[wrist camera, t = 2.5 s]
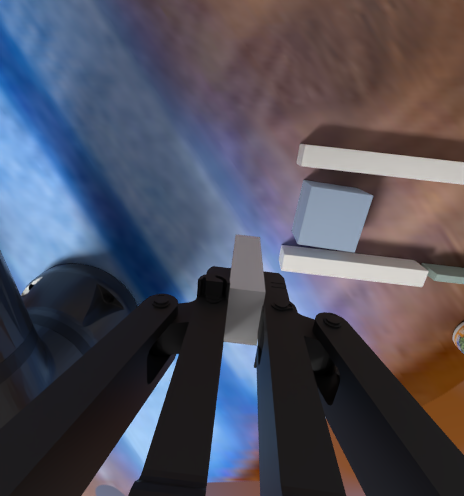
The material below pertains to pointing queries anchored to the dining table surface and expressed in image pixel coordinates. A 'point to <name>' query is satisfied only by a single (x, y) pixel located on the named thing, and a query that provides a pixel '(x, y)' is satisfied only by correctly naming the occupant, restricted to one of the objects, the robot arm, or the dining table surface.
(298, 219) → the block
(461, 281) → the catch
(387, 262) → the chute
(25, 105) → the dining table surface
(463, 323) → the pill bottle
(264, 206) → the dining table surface
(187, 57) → the dining table surface
